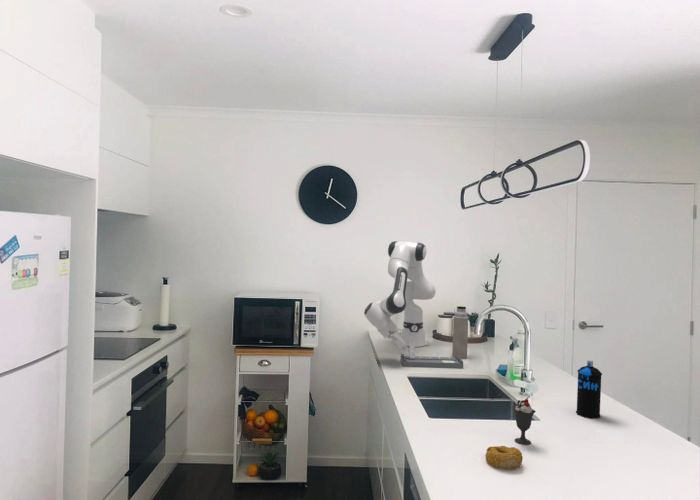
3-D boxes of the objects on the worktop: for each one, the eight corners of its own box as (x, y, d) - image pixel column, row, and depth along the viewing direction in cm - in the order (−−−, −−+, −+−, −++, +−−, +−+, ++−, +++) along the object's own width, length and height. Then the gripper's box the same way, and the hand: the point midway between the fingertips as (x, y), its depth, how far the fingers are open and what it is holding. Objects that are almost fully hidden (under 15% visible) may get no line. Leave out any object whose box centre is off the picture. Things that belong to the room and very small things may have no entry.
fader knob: (409, 357, 248) (409, 339, 248) (413, 357, 248) (414, 339, 248) (409, 358, 245) (410, 340, 245) (414, 358, 245) (415, 340, 245)
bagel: (512, 454, 141) (513, 438, 141) (528, 472, 130) (529, 455, 130) (479, 454, 140) (479, 438, 140) (492, 473, 129) (493, 455, 129)
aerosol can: (580, 409, 183) (582, 357, 183) (603, 415, 177) (605, 361, 177) (572, 414, 177) (574, 360, 177) (596, 420, 172) (598, 364, 171)
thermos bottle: (451, 355, 270) (453, 305, 269) (465, 356, 269) (467, 306, 269) (453, 358, 262) (454, 307, 261) (468, 359, 261) (469, 307, 261)
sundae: (532, 448, 146) (533, 398, 145) (509, 442, 149) (511, 394, 149) (536, 440, 151) (538, 393, 151) (514, 435, 155) (516, 389, 155)
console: (400, 360, 253) (400, 353, 253) (457, 362, 253) (457, 355, 253) (403, 366, 240) (403, 359, 240) (463, 368, 240) (463, 361, 240)
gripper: (395, 329, 236) (414, 349, 236) (391, 322, 256) (409, 341, 257) (385, 337, 236) (405, 358, 236) (382, 330, 256) (400, 349, 257)
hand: (407, 349), depth 247 cm, fingers closed
